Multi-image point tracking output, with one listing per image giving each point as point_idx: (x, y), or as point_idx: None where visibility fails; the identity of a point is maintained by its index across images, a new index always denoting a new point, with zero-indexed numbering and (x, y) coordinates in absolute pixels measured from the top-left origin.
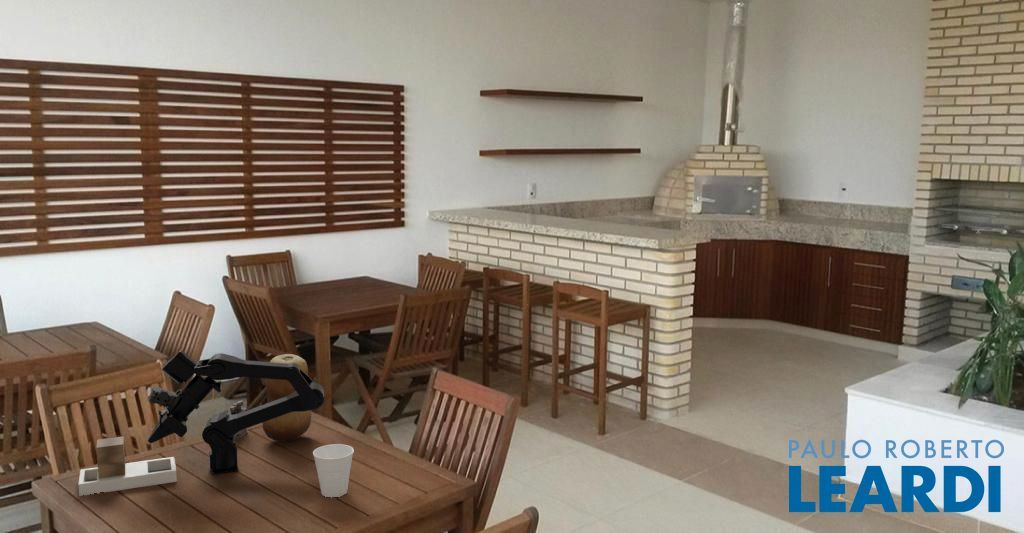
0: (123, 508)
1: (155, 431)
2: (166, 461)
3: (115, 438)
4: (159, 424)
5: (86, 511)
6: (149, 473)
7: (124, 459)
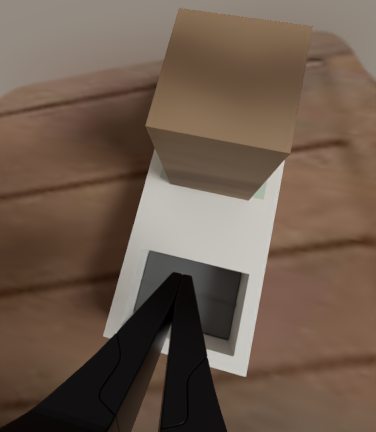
0: (40, 159)
1: (115, 335)
2: (234, 338)
3: (275, 108)
4: (45, 412)
5: (81, 90)
6: (132, 250)
7: (181, 170)
